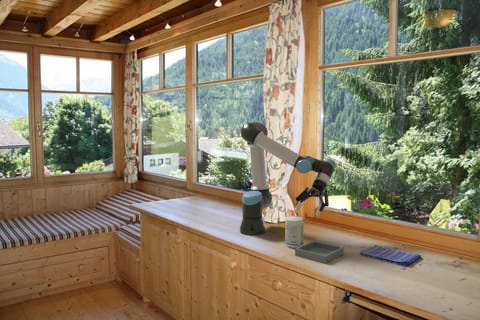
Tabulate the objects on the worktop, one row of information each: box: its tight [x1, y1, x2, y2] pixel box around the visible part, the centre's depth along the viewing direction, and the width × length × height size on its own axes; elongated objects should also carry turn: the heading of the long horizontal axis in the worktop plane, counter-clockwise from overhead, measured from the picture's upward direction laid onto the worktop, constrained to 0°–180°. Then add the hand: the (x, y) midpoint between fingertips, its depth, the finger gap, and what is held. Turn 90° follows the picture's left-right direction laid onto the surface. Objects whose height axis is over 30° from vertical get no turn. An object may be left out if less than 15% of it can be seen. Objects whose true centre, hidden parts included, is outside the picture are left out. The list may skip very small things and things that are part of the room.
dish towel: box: [359, 244, 422, 268], centre depth 189 cm, size 17×24×3 cm
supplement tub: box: [284, 215, 305, 249], centre depth 206 cm, size 10×10×15 cm
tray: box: [294, 240, 345, 264], centre depth 193 cm, size 17×17×3 cm
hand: (305, 213), depth 212 cm, fingers open, 13 cm apart
